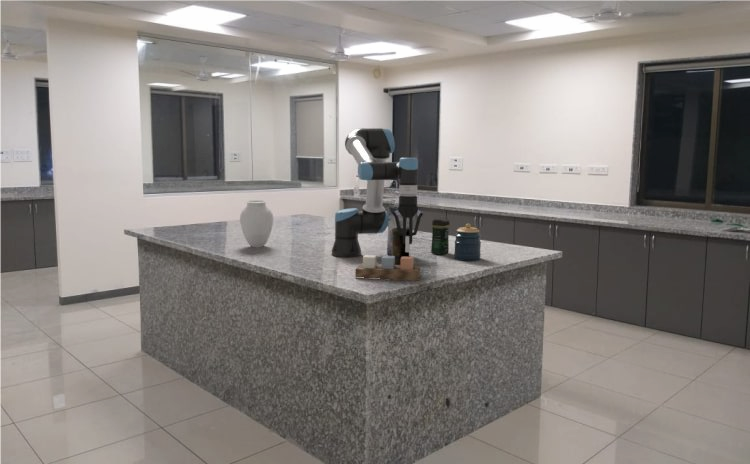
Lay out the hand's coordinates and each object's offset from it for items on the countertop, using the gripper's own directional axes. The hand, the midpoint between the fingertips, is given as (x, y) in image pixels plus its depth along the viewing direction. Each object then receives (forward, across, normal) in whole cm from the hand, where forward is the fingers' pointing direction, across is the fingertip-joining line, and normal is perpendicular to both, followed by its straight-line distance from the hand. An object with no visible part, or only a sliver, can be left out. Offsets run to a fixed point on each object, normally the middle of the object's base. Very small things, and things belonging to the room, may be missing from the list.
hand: (407, 251), depth 240 cm
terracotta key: (+9, 0, 0) cm, 9 cm away
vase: (+11, -89, +61) cm, 109 cm away
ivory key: (+9, -16, 0) cm, 18 cm away
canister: (+11, +25, +48) cm, 55 cm away
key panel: (+11, -8, 0) cm, 14 cm away
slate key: (+9, -8, 0) cm, 12 cm away
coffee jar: (+11, +11, +60) cm, 62 cm away
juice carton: (+11, -10, +50) cm, 52 cm away
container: (+11, -5, +19) cm, 23 cm away
